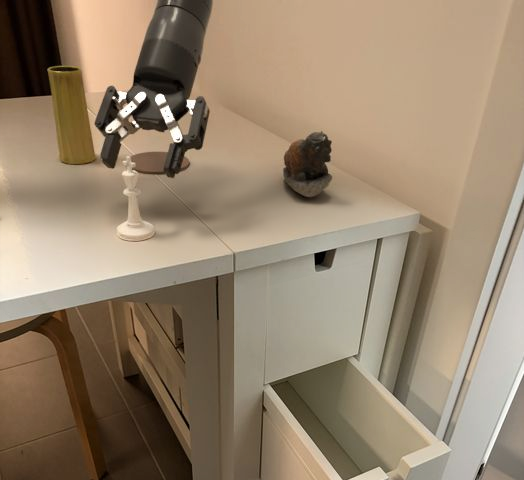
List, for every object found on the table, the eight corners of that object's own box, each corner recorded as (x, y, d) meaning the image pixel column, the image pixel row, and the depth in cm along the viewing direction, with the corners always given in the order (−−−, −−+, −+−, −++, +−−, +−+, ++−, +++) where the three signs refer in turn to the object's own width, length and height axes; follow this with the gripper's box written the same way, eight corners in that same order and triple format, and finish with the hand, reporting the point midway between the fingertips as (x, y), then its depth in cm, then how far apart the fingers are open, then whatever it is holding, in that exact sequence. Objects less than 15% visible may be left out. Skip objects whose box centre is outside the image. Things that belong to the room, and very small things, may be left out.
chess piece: (138, 244, 71) (130, 166, 65) (108, 235, 73) (98, 158, 67) (162, 231, 74) (157, 155, 68) (133, 222, 76) (125, 148, 70)
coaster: (147, 178, 90) (147, 176, 90) (113, 160, 97) (113, 158, 96) (202, 166, 96) (202, 163, 96) (166, 150, 103) (166, 147, 102)
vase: (88, 151, 100) (75, 64, 91) (101, 161, 96) (90, 70, 88) (54, 156, 97) (38, 66, 88) (67, 166, 93) (52, 73, 85)
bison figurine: (274, 178, 93) (277, 115, 87) (313, 176, 94) (319, 114, 88) (294, 205, 84) (300, 136, 78) (338, 203, 85) (347, 135, 79)
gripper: (109, 31, 70) (73, 147, 68) (213, 40, 67) (179, 163, 65) (133, 70, 78) (101, 176, 76) (228, 80, 75) (198, 191, 73)
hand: (137, 170), depth 70 cm, fingers open, 8 cm apart
